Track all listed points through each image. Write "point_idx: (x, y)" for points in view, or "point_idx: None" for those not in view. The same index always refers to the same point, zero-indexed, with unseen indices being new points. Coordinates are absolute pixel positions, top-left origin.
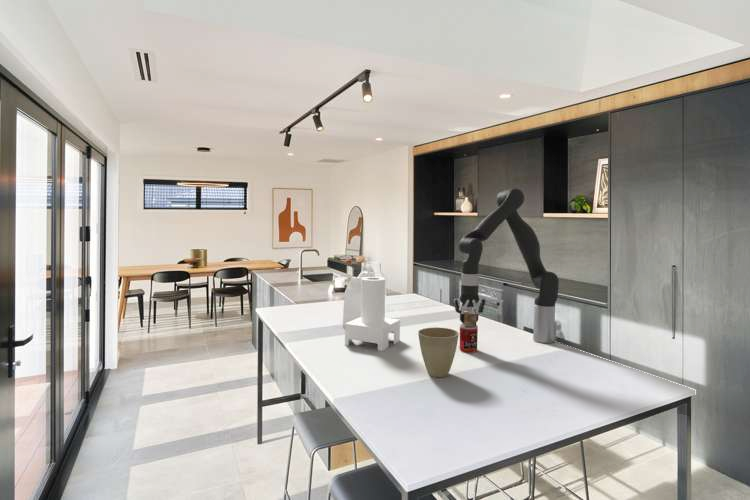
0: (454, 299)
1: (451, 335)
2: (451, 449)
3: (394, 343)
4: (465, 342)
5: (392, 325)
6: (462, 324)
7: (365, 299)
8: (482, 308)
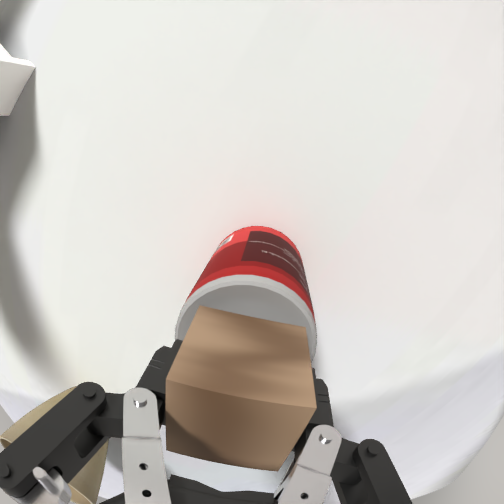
0: (3, 486)
1: (81, 476)
2: (102, 491)
3: (11, 109)
4: None
5: None
6: (212, 296)
7: None
8: (356, 500)
